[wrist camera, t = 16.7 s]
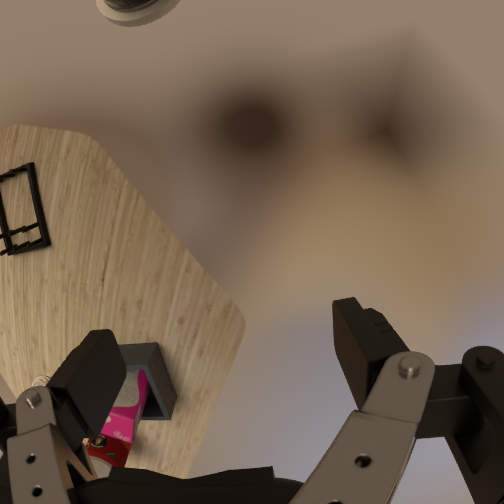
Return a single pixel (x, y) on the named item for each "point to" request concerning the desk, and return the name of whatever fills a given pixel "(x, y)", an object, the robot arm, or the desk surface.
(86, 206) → the desk surface
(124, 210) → the desk surface
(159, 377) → the dark grey storage bin
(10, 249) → the dish rack
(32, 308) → the desk surface
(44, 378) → the cream coiled cloth
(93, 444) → the canned food
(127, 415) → the supplement box
